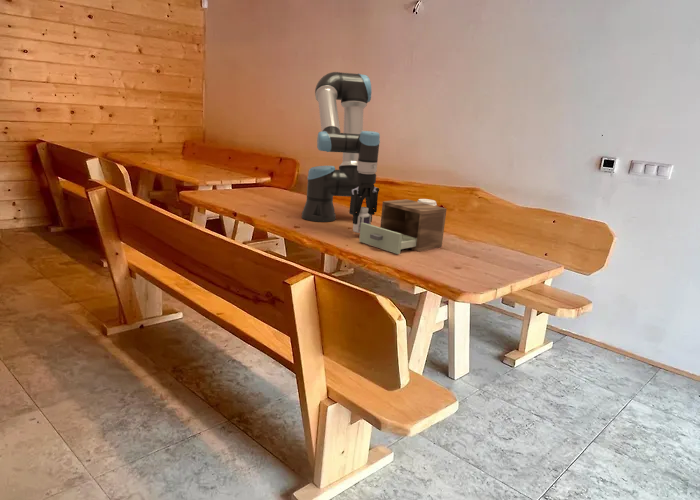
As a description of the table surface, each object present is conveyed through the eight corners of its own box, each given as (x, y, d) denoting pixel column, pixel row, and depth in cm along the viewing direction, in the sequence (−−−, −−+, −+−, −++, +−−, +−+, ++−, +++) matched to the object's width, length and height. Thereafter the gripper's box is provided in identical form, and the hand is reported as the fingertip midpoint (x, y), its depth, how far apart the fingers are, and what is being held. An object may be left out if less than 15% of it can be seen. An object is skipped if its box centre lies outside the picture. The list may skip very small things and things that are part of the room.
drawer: (354, 242, 196) (356, 223, 194) (384, 237, 207) (385, 219, 205) (392, 255, 182) (394, 235, 180) (422, 249, 193) (424, 230, 191)
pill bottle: (367, 230, 210) (369, 206, 207) (368, 234, 205) (370, 209, 202) (354, 229, 209) (356, 205, 207) (354, 233, 204) (356, 208, 202)
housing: (379, 239, 205) (382, 201, 201) (402, 235, 215) (406, 199, 211) (418, 251, 191) (422, 211, 187) (441, 246, 201) (446, 208, 197)
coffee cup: (417, 238, 211) (421, 202, 207) (410, 233, 219) (413, 198, 215) (436, 238, 213) (441, 202, 209) (428, 233, 221) (432, 198, 217)
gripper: (355, 175, 192) (350, 236, 198) (390, 173, 204) (384, 230, 210) (342, 171, 197) (337, 231, 203) (376, 170, 209) (371, 226, 216)
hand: (361, 230), depth 207 cm, fingers closed on pill bottle, 5 cm apart
